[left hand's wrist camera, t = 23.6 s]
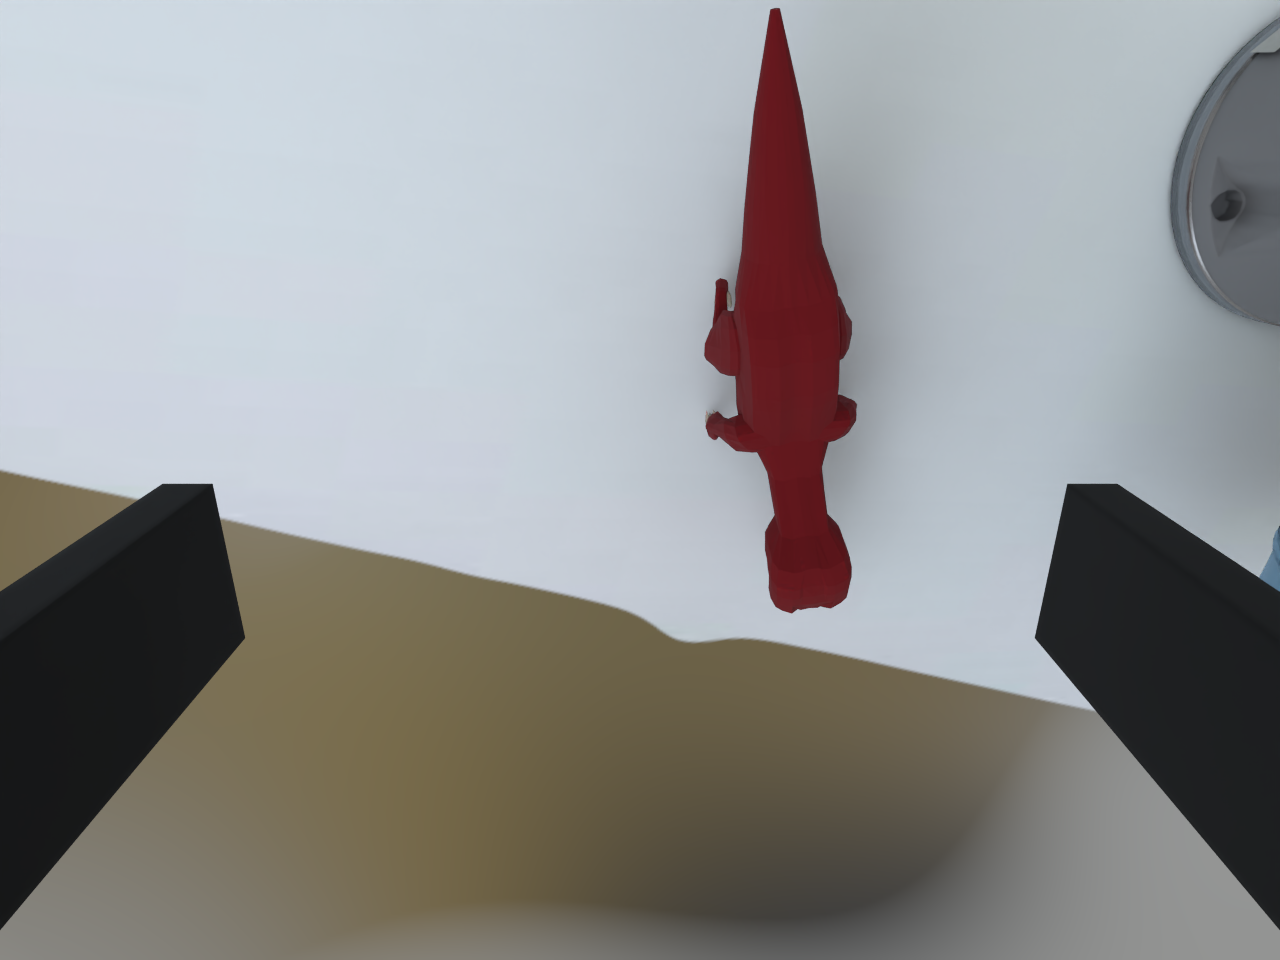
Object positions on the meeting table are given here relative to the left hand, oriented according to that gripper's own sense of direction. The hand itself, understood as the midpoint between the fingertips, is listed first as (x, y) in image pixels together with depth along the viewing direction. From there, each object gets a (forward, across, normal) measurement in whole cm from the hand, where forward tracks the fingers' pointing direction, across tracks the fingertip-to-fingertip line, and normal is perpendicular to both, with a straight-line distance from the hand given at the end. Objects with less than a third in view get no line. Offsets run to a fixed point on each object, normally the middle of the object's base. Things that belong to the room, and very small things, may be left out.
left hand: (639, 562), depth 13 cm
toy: (+30, -6, +2) cm, 31 cm away
